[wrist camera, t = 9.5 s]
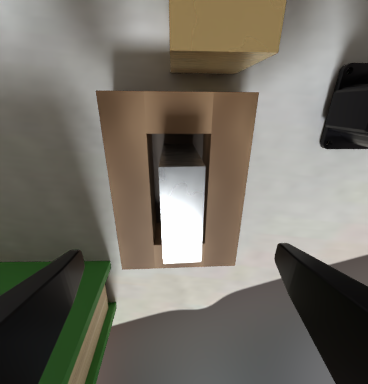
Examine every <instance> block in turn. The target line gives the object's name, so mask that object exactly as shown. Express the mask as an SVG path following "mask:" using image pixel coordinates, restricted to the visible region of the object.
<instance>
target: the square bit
mask: <svg viewBox="0 0 368 384" xmlns="http://www.w3.org/2000/svg"><path fill="white" fill-rule="evenodd" d="M285 7H286V0H169V25H170V67H171V73H217V74H236V73H238V72H240V71H242V70H244V69H246V68H248V67H250V66H252V65H254V64H256V63H258V62H260V61H262V60H264V59H266V58H268V57H270V56H272V55H275V54H277V53H278V50H279V44H280V38H281V31H282V25H283V19H284V13H285Z"/></svg>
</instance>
